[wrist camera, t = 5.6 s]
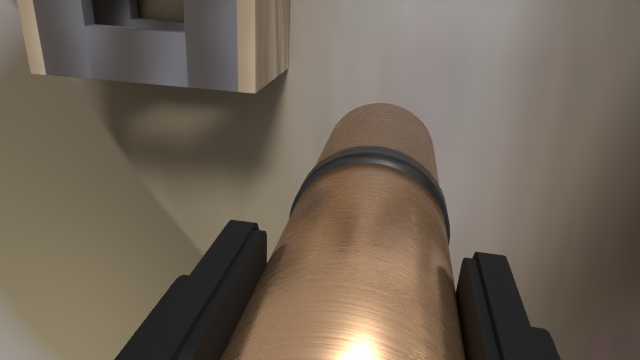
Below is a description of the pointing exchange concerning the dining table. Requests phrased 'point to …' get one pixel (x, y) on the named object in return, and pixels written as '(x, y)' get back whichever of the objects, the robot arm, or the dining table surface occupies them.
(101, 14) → the collar stand
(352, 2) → the dining table surface
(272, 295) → the tan cylinder
